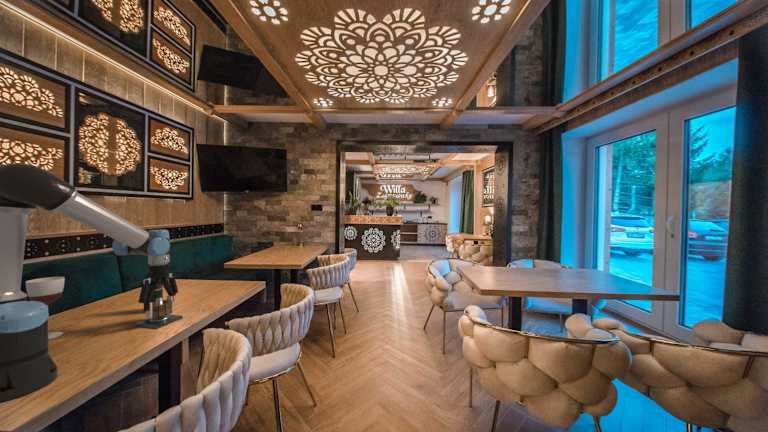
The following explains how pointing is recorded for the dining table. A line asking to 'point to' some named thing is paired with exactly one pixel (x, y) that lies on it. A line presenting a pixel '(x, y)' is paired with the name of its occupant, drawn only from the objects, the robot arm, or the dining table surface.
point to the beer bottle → (157, 292)
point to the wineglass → (46, 293)
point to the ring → (161, 309)
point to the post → (158, 319)
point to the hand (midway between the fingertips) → (159, 313)
